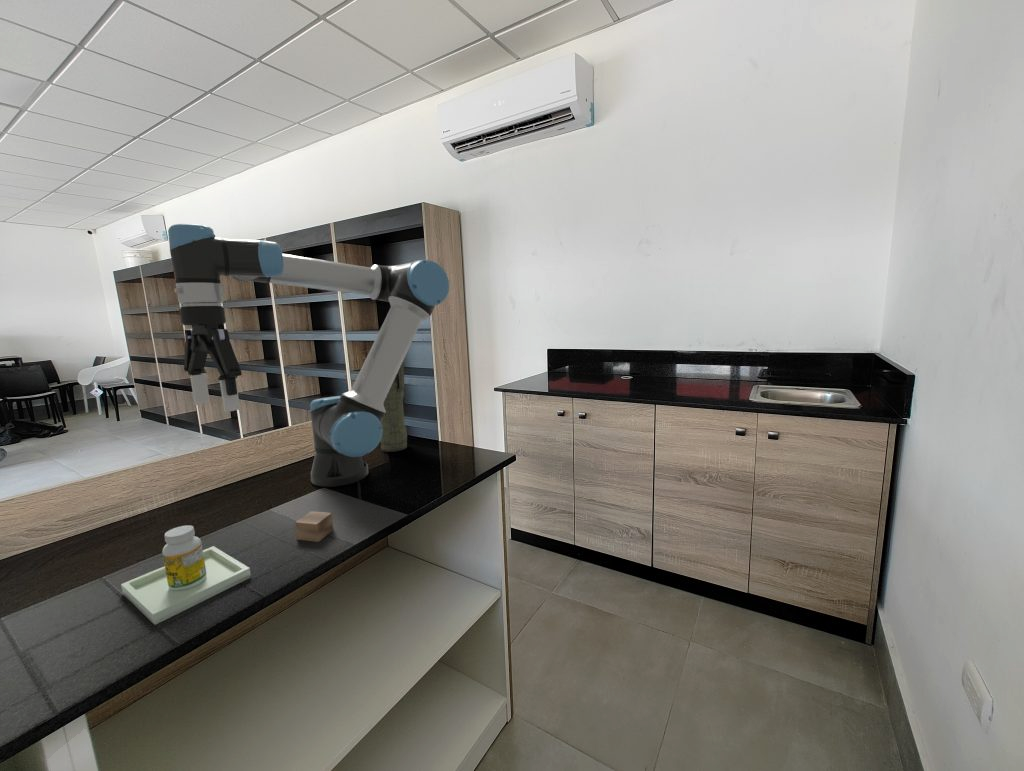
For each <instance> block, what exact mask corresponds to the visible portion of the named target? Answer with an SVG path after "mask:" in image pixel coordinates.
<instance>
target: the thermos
mask: <svg viewBox="0 0 1024 771" xmlns="http://www.w3.org/2000/svg"><path fill="white" fill-rule="evenodd" d="M404 390H406V384H405V366H404V362H402V364H401V366H400V368H399V370H398V373H397V375H396V377H395V379H394V381H393V383H392V385H391V388H390V390H389V392H388V394H387V396H386V398H385V400H384V403H383V405H384V408H385V411H386V413H385V415H384V417H383V419H382V421H381V425H382V430H383V432H382V438H381V440H380V442H379V444H380V450H381V451H383V452H388V453H394V452H399V451H403V450H405V449H407V448H408V442H407V441H408V433H407V426H406V424H405V413H404V401H403V400H404V397H405V391H404Z"/></svg>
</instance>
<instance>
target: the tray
mask: <svg viewBox="0 0 1024 771" xmlns="http://www.w3.org/2000/svg"><path fill="white" fill-rule="evenodd" d="M203 556H204V561H205V567H206V578H205V579H204V580H203V581H202V582H201V583H200V584H198V585H196V586H194V587H192V588H189V589H186V590H181V591H174V590H171V589H170V588H169V586H168V581H167V576H166V570H165V565H164V566H162V567H159V568H157V569H154V570H152V571H149V572H146V573H144V574H142V575H139V576H138V577H136V578H133V579H130V580H128V581H126V582H122V583H121V584H120V586H121V591H122V594H123V596H124V597H125V598H127V600H128V601H129V602H131V603H132V604H133V605H134V606H135V607H136V608H137V609H138V610H139V611H140V613H142V614H143V615H144V616H145V617H146V618H147V619H148V620H149V621H150V622H151V623H152V624H153V625H154V626H155V625H158V624H160V623H162V622H163V621H166V620H169V619H170V618H172V617H174V616H176V615H178V614H180V613H182V612H185V611H186V610H188V609H190V608H192V607H194V606H196V605H199V604H200V603H202V602H204V601H206V600H208V599H210V598H213V597H214V596H216V595H218V594H220V593H222V592H225V591H226V590H228V589H230V588H232V587H235V586H237V585H238V584H241V583H242V582H243V583H244V581H247V580H248V579H251V578H252V575H251V569H250V567H249V566H247V565H246V564H244V563H242V562H241V561H239V560H237V559H236V558H234V557H233V556H230V555H229V554H227V553H226V552H224V551H223V550H221V549H219V548H217V547H216V546H215V545H213V546H210V547H208V548H205V549H203Z"/></svg>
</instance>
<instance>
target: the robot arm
mask: <svg viewBox="0 0 1024 771" xmlns="http://www.w3.org/2000/svg"><path fill="white" fill-rule="evenodd" d="M167 231H168V232H167V233H168V235H167V236H168V243H169V252H170V253H169V254H170V258H171V265H172V270H173V276H174V281H175V288H174V289H173V291H174V293H175V294H177V300H178V304H181V305H182V306H180V307H179V314H180V322H181V325H183V326H191V328H185V329H184V337H185V338H184V339H185V342H184V344H185V345H184V360H183V361H184V363H183V370H184V372H187V373H188V375H189V376H190V384H191V390H192V398H193V404H194V406H200V405H206V404H210V403H211V402H210V394H209V389H208V388H209V387H208V381H207V373H208V372H207V370H206V369H205V366H206V363H207V362H206V361H207V357H208V355H209V356H210V358H211V360H212V362H213V364H214V366H215V367H216V370H217V372H218V374H219V377H218V378H217V379H218V381H219V387H220V393H221V400H222V408H223V412H224V413H229V412H234V411H239V410H241V405H240V398H239V392H238V385H237V379H238V377H239V376H242V370H241V367H240V365H239V362H238V359H237V357H236V353H235V352H234V349H233V346H232V344H231V340H230V335H229V331H228V329H227V328H223V329H221V328H220V329H219V325H225V324H226V322H227V321H226V320H227V319H226V318H227V317H226V312H225V307H223V306H222V304H224V295H223V288H222V287H223V286H222V283H221V278H220V277H221V276H225V277H231V278H232V279H234V280H235V281H239V282H245V283H246V282H255V283H263V284H264V283H265V284H274V285H275V284H276V285H283V286H290V287H291V286H292V287H299V288H307V289H316V290H325V291H332V292H338V293H339V292H340V293H349V294H357V295H364V296H365V295H366V296H369V298H370V299H371V300H374V301H381V302H388V303H389V305H390V308H389V310H388V312H387V314H386V317H385V318H384V321H383V323H382V325H381V327H380V328H379V331H378V333H377V335H376V338H375V340H374V341H373V343H372V346H371V348H370V349H369V352H368V354H367V356H366V357H365V360H364V362H363V364H362V367H361V368H360V371H358V372H359V373H358V374H357V377H356V378H355V380H354V383H353V385H352V387H351V388H350V390H348V391H346V392H343V393H342V394H341V395H337V396H336V395H335V396H329V397H321V398H315V399H313V400H312V401H311V402H310V404H309V406H310V407H309V408H310V410H309V414H310V417H311V418H310V419H311V426H312V433H313V436H312V437H313V444H314V458H313V462H312V467H311V470H310V482H311V483H312V484H313V485H314V486H318V487H323V488H331V487H332V488H333V487H342V486H345V485H350V484H353V483H357V482H360V481H361V480H363V479H365V478H366V477H367V476H368V475H369V466H368V463H367V460H366V459H365V455H368V454H370V453H371V452H373V451H374V450H375V449H376V448H377V447H378V446H379V444H380V440H381V438H382V432H383V430H382V425H381V421H382V419H383V417H384V415H385V413H386V411H385V408H384V405H383V403H384V400H385V398H386V396H387V394H388V392H389V390H390V388H391V385H392V383H393V381H394V379H395V377H396V375H397V373H398V370H399V368H400V366H401V364H402V362H403V361H404V359H405V357H406V355H407V353H408V351H409V349H410V347H411V345H412V342H413V340H414V338H415V337H416V334H417V333H418V332H417V331H418V330H419V327H420V326H421V323H422V322H423V321H427V320H429V319H430V318H431V315H432V313H433V312H434V309H435V307H436V306H438V305H440V304H442V303H443V302H444V301H445V300H446V298H448V295H449V292H450V280H449V278H448V274H447V272H446V271H445V269H444V268H443V267H442V266H441V265H440V264H439V263H438V262H436V261H433V260H430V259H415V260H414V261H412V262H407V263H406V262H405V263H402V264H395V265H380V264H373V265H372V266H371V267H368V266H362V265H355V264H349V263H345V262H344V263H343V262H339V261H332V260H325V259H319V258H312V257H306V256H305V257H304V256H299V255H293V254H288V253H283V249H282V247H281V246H280V244H279V243H277V242H276V241H268V240H264V239H260V240H259V239H258V240H257V239H240V238H239V239H237V238H223V237H222V238H221V237H217V236H216V235H215V232H214V229H213V228H211V227H210V226H207V225H202V224H195V223H176V224H173V225H171V226H169V228H168V230H167ZM403 363H404V362H403Z"/></svg>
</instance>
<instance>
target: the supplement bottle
mask: <svg viewBox="0 0 1024 771" xmlns="http://www.w3.org/2000/svg"><path fill="white" fill-rule="evenodd" d="M195 534H196V532H195V528H194V526H193V525H181V526H177V527H173V528H171V529H169V530H168V531H166V532H165V533H164V542H165V543H166V544H165V545H164V546H163V548H162V551H161V553H162V559H163V564H164V566H165V570H166V576H167V581H168V586H169V588H170V589H171V590H174V591H181V590H186V589H189V588H192V587H194V586H196V585H198V584H200V583H201V582H202V581H203V580H204V579H205V578H206V567H205V561H204V556H203V550H204V549H203V544H202V540H201V538H199V537H198V536H197V535H196V536H195Z"/></svg>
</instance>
